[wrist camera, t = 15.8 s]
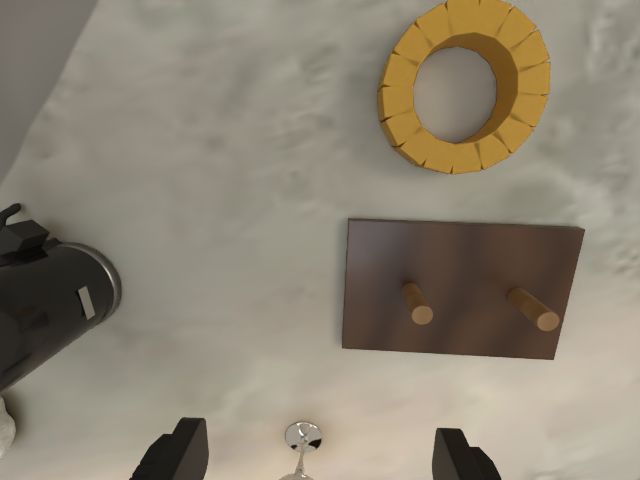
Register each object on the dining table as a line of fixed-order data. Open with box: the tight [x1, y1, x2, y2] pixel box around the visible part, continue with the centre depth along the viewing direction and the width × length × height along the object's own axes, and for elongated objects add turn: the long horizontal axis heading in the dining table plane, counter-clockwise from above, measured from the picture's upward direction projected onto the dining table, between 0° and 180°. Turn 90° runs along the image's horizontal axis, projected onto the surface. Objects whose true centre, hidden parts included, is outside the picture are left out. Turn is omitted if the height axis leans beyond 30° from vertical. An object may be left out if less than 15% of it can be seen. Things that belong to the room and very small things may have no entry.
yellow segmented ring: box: [377, 0, 550, 174], centre depth 28 cm, size 13×13×4 cm
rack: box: [342, 218, 585, 360], centre depth 32 cm, size 22×14×6 cm, turn 88°
